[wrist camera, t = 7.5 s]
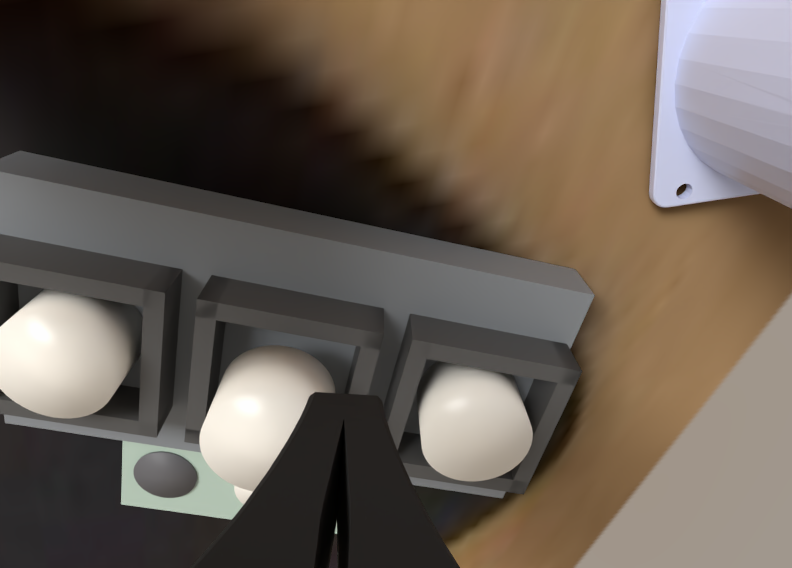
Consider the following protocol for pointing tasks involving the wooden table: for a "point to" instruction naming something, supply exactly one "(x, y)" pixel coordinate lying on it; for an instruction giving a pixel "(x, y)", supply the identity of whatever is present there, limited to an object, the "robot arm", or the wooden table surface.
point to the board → (280, 304)
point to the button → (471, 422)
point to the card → (177, 482)
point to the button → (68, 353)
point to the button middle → (258, 411)
